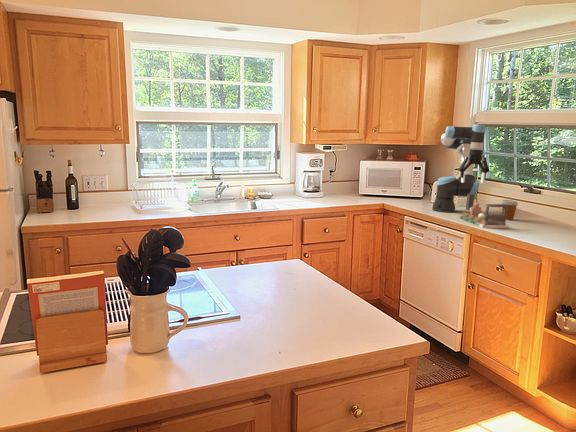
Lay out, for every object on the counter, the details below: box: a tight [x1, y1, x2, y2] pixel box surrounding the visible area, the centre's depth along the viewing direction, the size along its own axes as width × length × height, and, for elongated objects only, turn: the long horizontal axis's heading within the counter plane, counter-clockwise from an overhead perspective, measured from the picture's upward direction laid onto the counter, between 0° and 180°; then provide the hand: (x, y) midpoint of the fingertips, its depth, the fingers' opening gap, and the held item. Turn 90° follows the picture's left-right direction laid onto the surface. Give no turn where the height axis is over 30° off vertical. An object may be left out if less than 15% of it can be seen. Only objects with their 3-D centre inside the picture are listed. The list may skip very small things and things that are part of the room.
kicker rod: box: [465, 194, 482, 217], centre depth 303 cm, size 11×6×13 cm, turn 9°
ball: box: [478, 212, 485, 219], centre depth 294 cm, size 4×4×4 cm
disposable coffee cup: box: [501, 199, 519, 221], centre depth 306 cm, size 10×10×12 cm
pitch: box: [459, 203, 508, 229], centre depth 291 cm, size 26×16×14 cm, turn 9°
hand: (472, 182), depth 304 cm, fingers open, 13 cm apart
